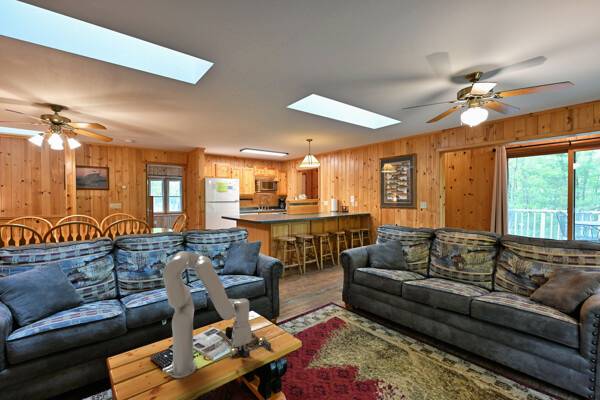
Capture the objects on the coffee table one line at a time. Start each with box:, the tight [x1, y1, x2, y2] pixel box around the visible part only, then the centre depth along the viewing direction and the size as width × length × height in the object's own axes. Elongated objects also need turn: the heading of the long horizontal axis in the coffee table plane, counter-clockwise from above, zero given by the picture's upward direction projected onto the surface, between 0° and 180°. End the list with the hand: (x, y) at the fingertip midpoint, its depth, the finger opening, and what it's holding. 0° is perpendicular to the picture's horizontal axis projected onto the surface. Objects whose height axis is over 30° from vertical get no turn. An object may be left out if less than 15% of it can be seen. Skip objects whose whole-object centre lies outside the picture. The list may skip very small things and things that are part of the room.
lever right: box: [258, 335, 272, 351], centre depth 156 cm, size 11×4×3 cm, turn 38°
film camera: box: [224, 325, 234, 340], centre depth 166 cm, size 15×10×9 cm, turn 80°
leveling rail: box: [227, 343, 264, 360], centre depth 153 cm, size 25×4×1 cm, turn 128°
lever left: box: [229, 347, 251, 357], centre depth 147 cm, size 11×4×3 cm, turn 80°
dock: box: [218, 330, 259, 348], centre depth 164 cm, size 16×22×3 cm
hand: (241, 355), depth 144 cm, fingers closed
